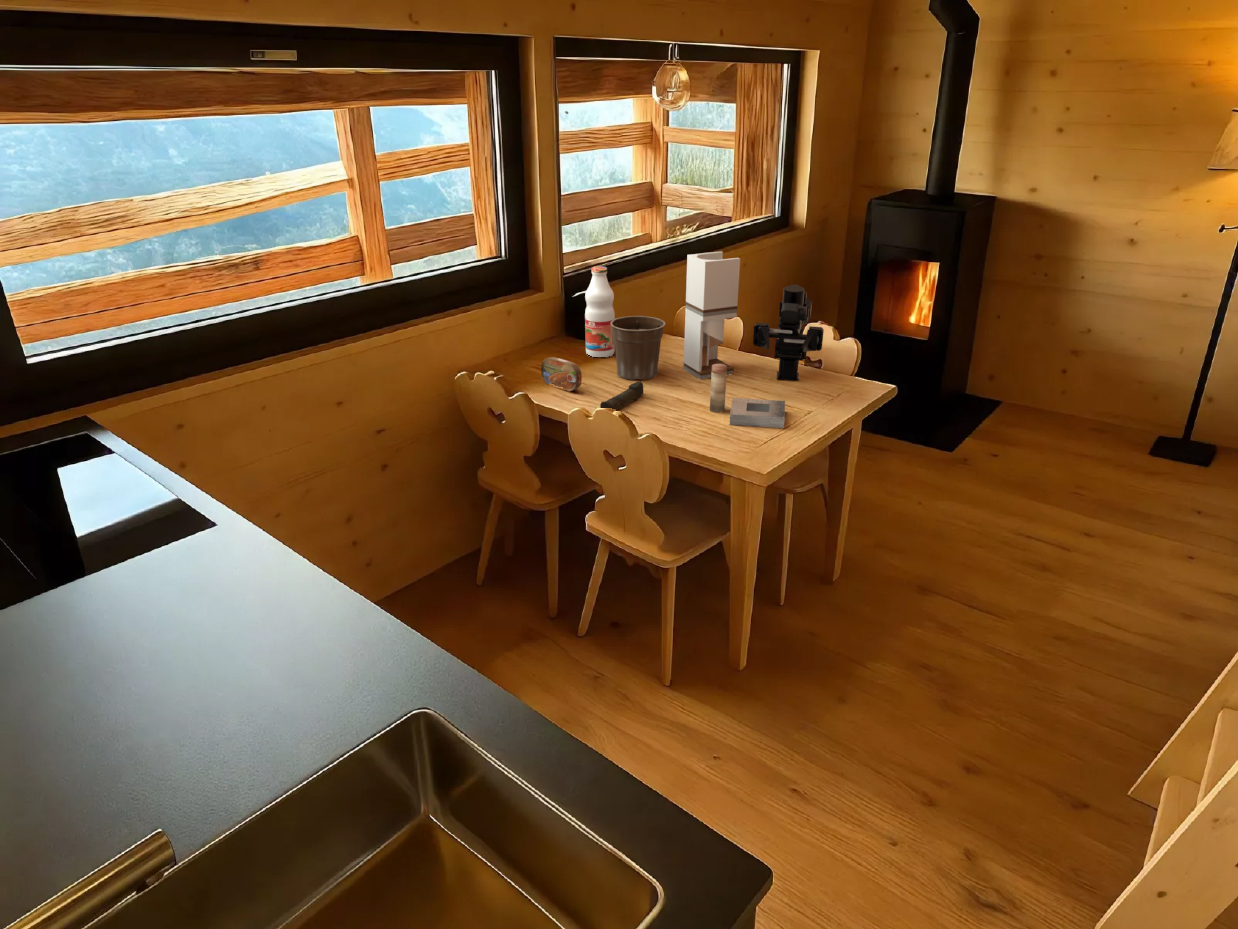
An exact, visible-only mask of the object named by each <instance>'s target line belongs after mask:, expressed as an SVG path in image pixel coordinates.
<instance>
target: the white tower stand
mask: <svg viewBox="0 0 1238 929" xmlns="http://www.w3.org/2000/svg"><path fill="white" fill-rule="evenodd" d="M723 253H724V251H713V252H712V251H711V252H703V253H702V252H701V253H695V254H694V253H693V254H692V253H691V254H687V257H686V260H687V261H686V285H685V286H686V288H685V313H684V315H685V316H684V317H685V320H684V340H683V342H684V347H683V348H684V349H683V370H684V371H686V372H688V373H689V374H690V375H692V376H694V377H696V378H697V379H699V380H706V379H711V373H712V365H714V364H724V365H726V366H727V373H726V376H730V375H729V374H732V375H734V369H735V368H734V367H733V366H731V365H729V363H726V362H724V361H723V360H720V359H719V358H718V357H719V355H718V353H719V352H718V351H719V346H720V345H722V344H724V334H725V333H724V332H725V319H732V318H737V317H738V300H739V299H738V298H739V285H740V284H739V283H740V268H741V267H740V266H741V258H739V257H733V258H723V256H724V255H723Z"/></svg>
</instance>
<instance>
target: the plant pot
mask: <svg viewBox="0 0 1238 929" xmlns="http://www.w3.org/2000/svg"><path fill="white" fill-rule="evenodd" d="M611 326H612V329H613V337H614V339H615V360H616V361H615V362H616V373H617V375H618V377H620V378H622V379H625V380H631V381H635V380H637V379H638V380H640V381H644V380H651V379H653V378H655V377H656V376H657V375H658V368H659V361H660V360H659V358H660V351H661V344H662V338H663V333H664V328H665V326H666V322H665V321H664V320H663V319H661V318H657V317H654V316H653V317H652V316H645V315H629V316H622V317H617V318H615V319H614V320H612V321H611Z"/></svg>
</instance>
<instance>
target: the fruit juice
mask: <svg viewBox="0 0 1238 929" xmlns="http://www.w3.org/2000/svg"><path fill="white" fill-rule="evenodd" d="M590 272H591V274H592V276H591V280H590V283H589V285H588V287H587V289H586V291H585V296H584V298H585V299H584V300H585V302H586V307H585V310H584V311H585V313H584V321H585V322H584V323H585V324H584V328H585V329H584V332H585V333H584V334H585V353H586V355H587V354H588V355H590V356H592V357H591V358H593V357H606V358H610V357H613V356H614V355H613V354H615V352H616V350H615V339H614V337H613V329H612V326H611V321H612V320H614V319H616V317H615V316H616V315H615V309H614V305H613V303H614V299H615V294H614V291H613V289H612V287H611V286H610V283H609V281H608V277H607V274H608V267H606V266H601V265H599V266H598V265H596V266H593V267H591V270H590ZM588 355H587V356H588ZM590 356H589V357H590ZM609 356H610V357H609Z"/></svg>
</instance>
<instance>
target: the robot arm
mask: <svg viewBox="0 0 1238 929" xmlns="http://www.w3.org/2000/svg"><path fill="white" fill-rule="evenodd" d="M782 293H783V294H782V301H780V302H779V313H778V314H779V320H778V325H777V326H778V327H777V328H770V323H767V322H756V323H755V324H754V326H753V336H752V344H753V346H755V347H758V348H763V349H765V350H769V349H770V338H773V339H775V345H774V347H775V348H774V359H775V360H777V359H779V361H778V362H779V363H778V371H776V380H777V381H778V380H779V381H794V382H798V381H800V374H799V365H800V363H799V362H800V361H804V360H806V359H807V353H808V352H815V351H818V352H820V351H821V350H822V348H823V343H824V342H823V341H824V332H825V330H824V328H823V326H809V327H808V329H807V331H806V333H805V334H804V331H803V329H802V326H803V325H805V324H807V323H808V321H809V319H810V318H811V316H812V306H813V304H812V302H813V301H812V300H811V299H810V298H809V297H808V296H807V293H808V292H806V291H805V288H804V287H802V286H801V285H799V284H793V283H792V284H791V285H787V286H784V287H783V291H782Z"/></svg>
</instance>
